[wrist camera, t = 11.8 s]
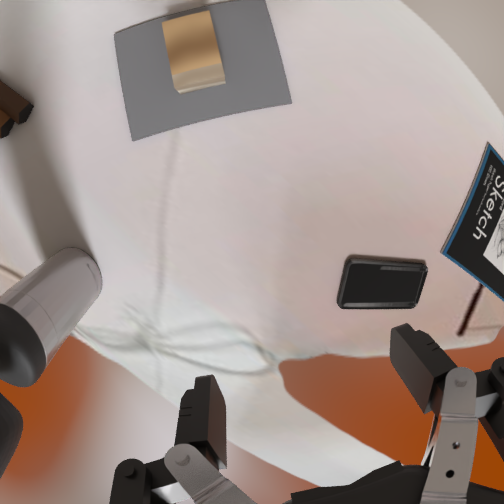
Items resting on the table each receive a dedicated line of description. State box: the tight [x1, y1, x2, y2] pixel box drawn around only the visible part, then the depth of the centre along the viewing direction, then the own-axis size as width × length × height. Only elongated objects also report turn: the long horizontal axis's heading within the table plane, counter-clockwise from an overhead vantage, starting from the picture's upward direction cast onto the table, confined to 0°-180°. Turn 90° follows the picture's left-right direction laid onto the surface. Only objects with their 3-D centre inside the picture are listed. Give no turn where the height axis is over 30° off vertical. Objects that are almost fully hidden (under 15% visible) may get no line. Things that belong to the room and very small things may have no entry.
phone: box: [337, 258, 428, 309], centre depth 42 cm, size 8×1×15 cm
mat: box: [114, 0, 292, 141], centre depth 30 cm, size 20×16×1 cm
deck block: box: [162, 10, 226, 94], centre depth 28 cm, size 9×6×4 cm, turn 12°
